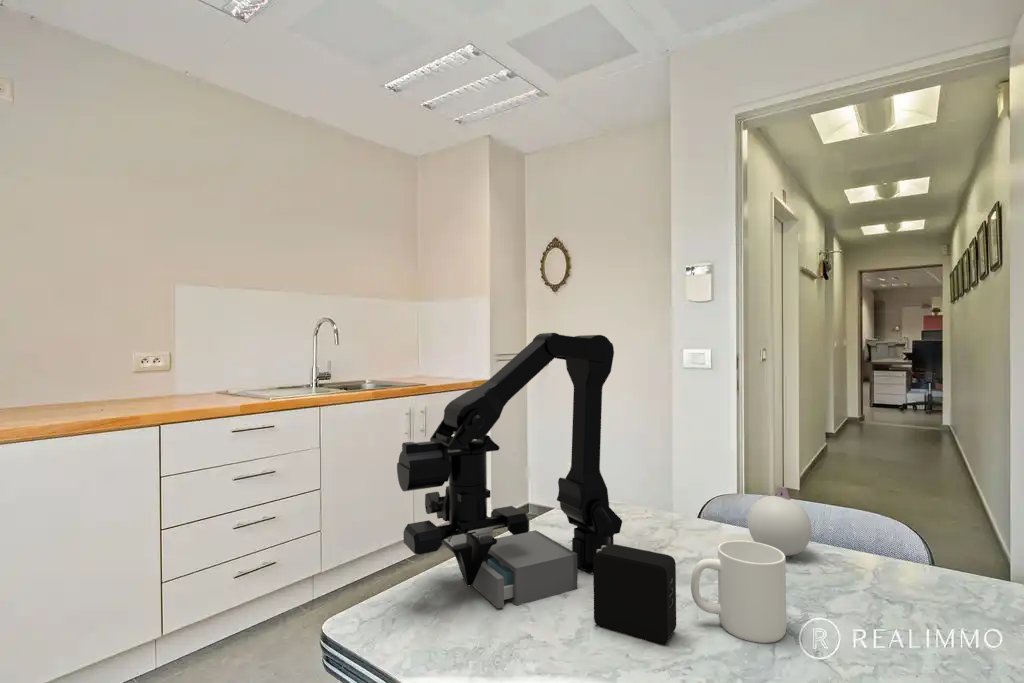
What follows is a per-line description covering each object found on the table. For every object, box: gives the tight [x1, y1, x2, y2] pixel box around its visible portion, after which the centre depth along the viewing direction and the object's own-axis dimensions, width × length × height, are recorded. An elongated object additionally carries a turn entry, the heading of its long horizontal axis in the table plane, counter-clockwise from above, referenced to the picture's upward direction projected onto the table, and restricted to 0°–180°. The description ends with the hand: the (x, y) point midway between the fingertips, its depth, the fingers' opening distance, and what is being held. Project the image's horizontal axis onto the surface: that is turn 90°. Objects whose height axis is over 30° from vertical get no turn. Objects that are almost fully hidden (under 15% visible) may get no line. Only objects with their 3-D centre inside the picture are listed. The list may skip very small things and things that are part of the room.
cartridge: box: [488, 558, 514, 586], centre depth 85 cm, size 6×6×3 cm
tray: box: [472, 561, 514, 609], centre depth 85 cm, size 11×12×4 cm
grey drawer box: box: [483, 530, 579, 606], centre depth 86 cm, size 11×12×5 cm
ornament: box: [747, 486, 812, 557], centre depth 97 cm, size 10×10×12 cm
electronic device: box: [592, 543, 677, 646], centre depth 71 cm, size 4×10×10 cm, turn 58°
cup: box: [690, 539, 787, 644], centre depth 72 cm, size 8×12×10 cm
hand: (468, 584), depth 81 cm, fingers closed
